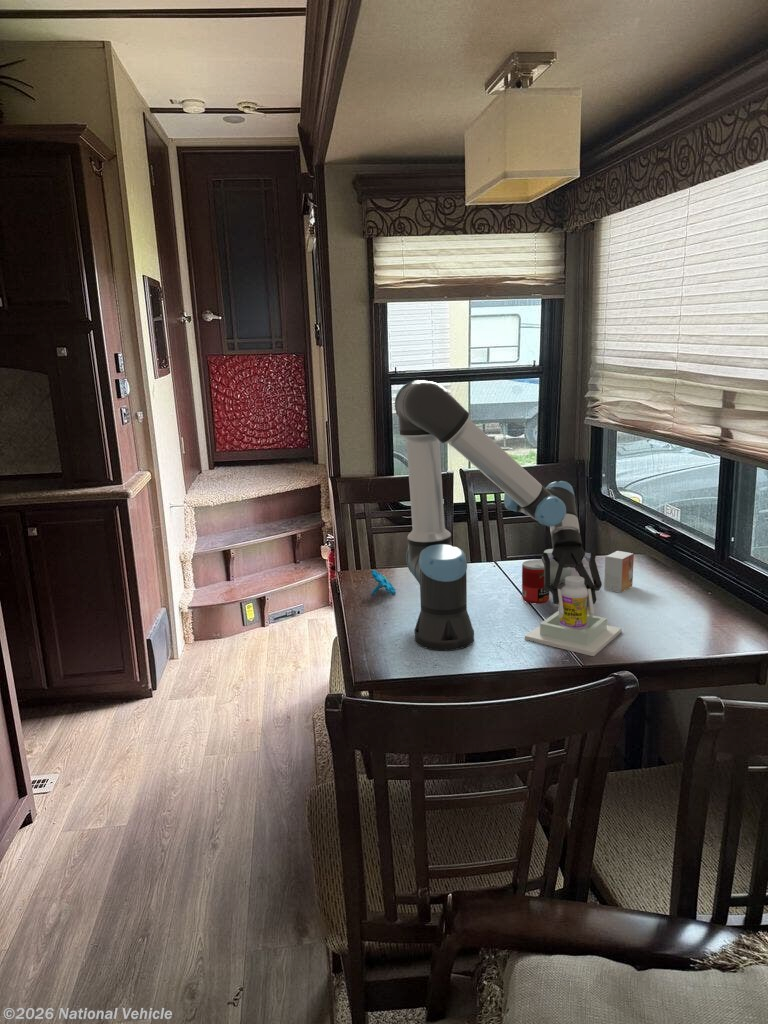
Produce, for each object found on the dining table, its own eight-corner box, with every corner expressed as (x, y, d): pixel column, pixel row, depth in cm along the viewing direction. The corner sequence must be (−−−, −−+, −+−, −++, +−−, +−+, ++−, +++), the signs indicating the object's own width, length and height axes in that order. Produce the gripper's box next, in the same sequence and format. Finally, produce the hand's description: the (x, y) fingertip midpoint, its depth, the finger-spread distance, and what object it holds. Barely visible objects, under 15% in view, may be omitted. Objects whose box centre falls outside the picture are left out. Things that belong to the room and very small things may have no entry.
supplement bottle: (556, 629, 173) (557, 580, 170) (563, 620, 179) (564, 573, 176) (583, 633, 170) (585, 583, 167) (589, 623, 176) (590, 575, 173)
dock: (593, 656, 162) (594, 640, 162) (524, 639, 173) (524, 624, 173) (621, 631, 176) (622, 617, 175) (555, 617, 187) (556, 603, 186)
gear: (395, 594, 205) (371, 571, 206) (382, 608, 206) (358, 584, 206) (399, 587, 216) (376, 565, 217) (386, 600, 217) (363, 578, 217)
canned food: (542, 606, 196) (543, 569, 194) (517, 601, 201) (517, 565, 199) (553, 598, 202) (554, 562, 200) (528, 593, 207) (529, 558, 204)
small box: (621, 593, 204) (622, 559, 202) (603, 589, 208) (604, 555, 206) (633, 586, 210) (634, 553, 208) (615, 582, 214) (616, 550, 211)
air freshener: (531, 579, 220) (531, 549, 218) (551, 575, 224) (551, 545, 221) (554, 588, 210) (555, 557, 208) (575, 583, 214) (575, 553, 212)
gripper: (600, 541, 185) (613, 621, 172) (526, 542, 186) (534, 621, 174) (606, 526, 178) (620, 608, 166) (529, 528, 180) (538, 609, 167)
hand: (576, 615), depth 170 cm, fingers closed on supplement bottle, 7 cm apart
